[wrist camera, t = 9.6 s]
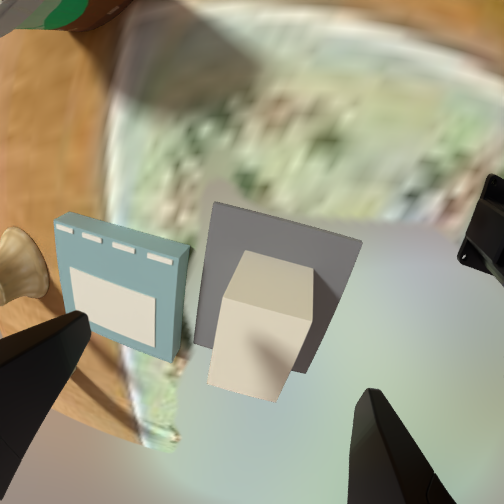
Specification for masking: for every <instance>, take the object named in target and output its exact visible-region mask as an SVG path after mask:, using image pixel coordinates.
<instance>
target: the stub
mask: <svg viewBox="0 0 504 504" xmlns="http://www.w3.org/2000/svg"><path fill="white" fill-rule="evenodd" d="M312 318H313V268H310V267H306V266H302V265H298V264H295V263H291V262H287V261H284V260H280V259H276V258H273V257H269V256H265V255H262V254H258V253H254V252H251V251H247V250H245V251H244V253H243V256H242V258H241V260H240V262H239V264H238V266H237V268H236V270H235V272H234V274H233V276H232V278H231V281H230V283H229V285H228V287H227V289H226V291H225V293H224V295H223V298H222V303H221V308H220V313H219V319H218V324H217V329H216V335H215V340H214V346H213V351H212V357H211V362H210V368H209V374H208V379H207V384H209V385H212V386H216V387H219V388H222V389H226V390H229V391H233V392H236V393H240V394H244V395H247V396H251V397H255V398H259V399H263V400H267V401H271V402H276V401H277V399H278V397H279V395H280V393H281V391H282V388H283V386H284V384H285V382H286V380H287V378H288V376H289V373H290V371H291V369H292V367H293V365H294V363H295V360H296V358H297V356H298V354H299V351H300V349H301V347H302V345H303V342H304V340H305V338H306V335H307V333H308V331H309V328H310V326H311V323H312Z"/></svg>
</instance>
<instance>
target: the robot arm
mask: <svg viewBox="0 0 504 504" xmlns="http://www.w3.org/2000/svg"><path fill="white" fill-rule="evenodd" d="M493 179H494V184H492V180H493ZM464 255H466V257H465V258H464V259H462V257H463V256H464ZM457 259H458V261H459V262H460V263H461V264H462V265H465V266H468V267H471V268H474V269H477V270H479V271H482V272H485V273H488V274H490V275H493V276H495V277H496V279H497V280H498V281H499V282H500V283H501V284H502V286H504V179H502V178H501V177H499V176H497V175H495V174H489V175H488V176H487V178H486V181H485V184H484V187H483V190H482V193H481V196H480V199H479V201H478V203H477V205H476V208H475V211H474V213H473V216H472V219H471V221H470V224H469V226H468V229H467V231H466V236H465V238H464V240H463V243H462V245H461V247H460V250H459V252H458V255H457ZM90 337H91V328H90V323H89V318H88V315H87V314H86V313H84V312H81V311H79V310H75V311H72V312H69V313H67V314H64V315H61V316H59V317H56V318H54V319H51V320H49V321H46V322H43V323H41V324H38V325H36V326H33V327H30V328H28V329H25V330H23V331H20V332H18V333H15V334H12V335H10V336H7V337H5V338H2V339H0V500H2V499H3V497H4V495H5V493H6V491H7V489H8V487H9V485H10V483H11V480H12V478H13V476H14V474H15V472H16V471H17V469H18V466H19V465H20V463H21V459H22V458H23V457H24V454H25V453H26V451H27V449H28V447H29V445H30V443H31V442H32V440H33V438H34V436H35V434H36V433H37V431H38V429H39V428H40V426H41V424H42V422H43V421H44V419H45V417H46V415H47V414H48V412H49V410H50V409H51V407H52V405H53V404H54V402H55V400H56V399H57V397H58V395H59V394H60V392H61V391H62V389H63V387H64V386H65V384H66V383H67V381H68V379H69V378H70V376H71V374H72V373H73V371H74V369H75V367H76V365H77V363H78V361H79V359H80V357H81V355H82V353H83V351H84V349H85V347H86V346H87V344H88V342H89V340H90ZM347 502H348V503H347V504H456V502H455V501H454V500H453V498H452V497H451V496H450V494H449V493H448V491H447V490H446V488H445V487H444V486H443V484H442V483H441V481H440V479H439V478H438V476H437V475H436V473H434V470H433V469H432V467H431V466H430V464H429V462H428V461H427V460H426V458H425V456H424V455H423V453H422V452H421V450H420V449H419V447H418V445H417V444H416V442H415V441H414V439H413V438H412V436H411V435H410V433H409V432H408V430H407V429H406V427H405V426H404V424H403V423H402V421H401V420H400V418H399V417H398V415H397V414H396V412H395V411H394V409H393V408H392V406H391V405H390V403H389V402H388V400H387V399H386V397H385V396H384V394H383V393H382V391H381V390H379V389H374V388H367V389H366V390H365V392H364V393H363V395H362V396H361V398H360V399H359V401H358V402H357V404H356V406H355V412H354V420H353V429H352V437H351V444H350V454H349V483H348V501H347Z"/></svg>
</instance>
